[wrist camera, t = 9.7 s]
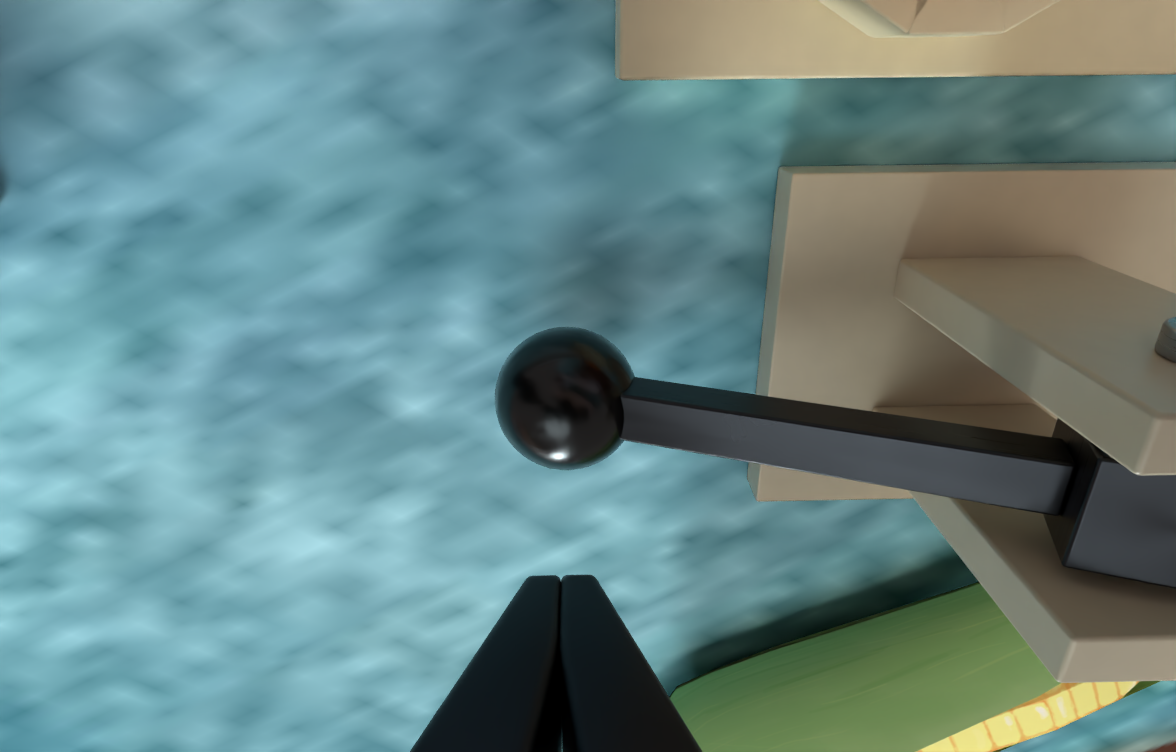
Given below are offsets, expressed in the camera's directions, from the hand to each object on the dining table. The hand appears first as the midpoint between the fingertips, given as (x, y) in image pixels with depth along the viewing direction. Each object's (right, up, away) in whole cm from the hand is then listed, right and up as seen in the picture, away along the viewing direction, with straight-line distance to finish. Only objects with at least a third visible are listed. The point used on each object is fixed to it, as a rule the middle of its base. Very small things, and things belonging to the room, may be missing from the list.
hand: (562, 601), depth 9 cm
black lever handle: (+5, +2, +6) cm, 9 cm away
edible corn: (+11, -6, +15) cm, 19 cm away
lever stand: (+10, +4, +10) cm, 15 cm away
